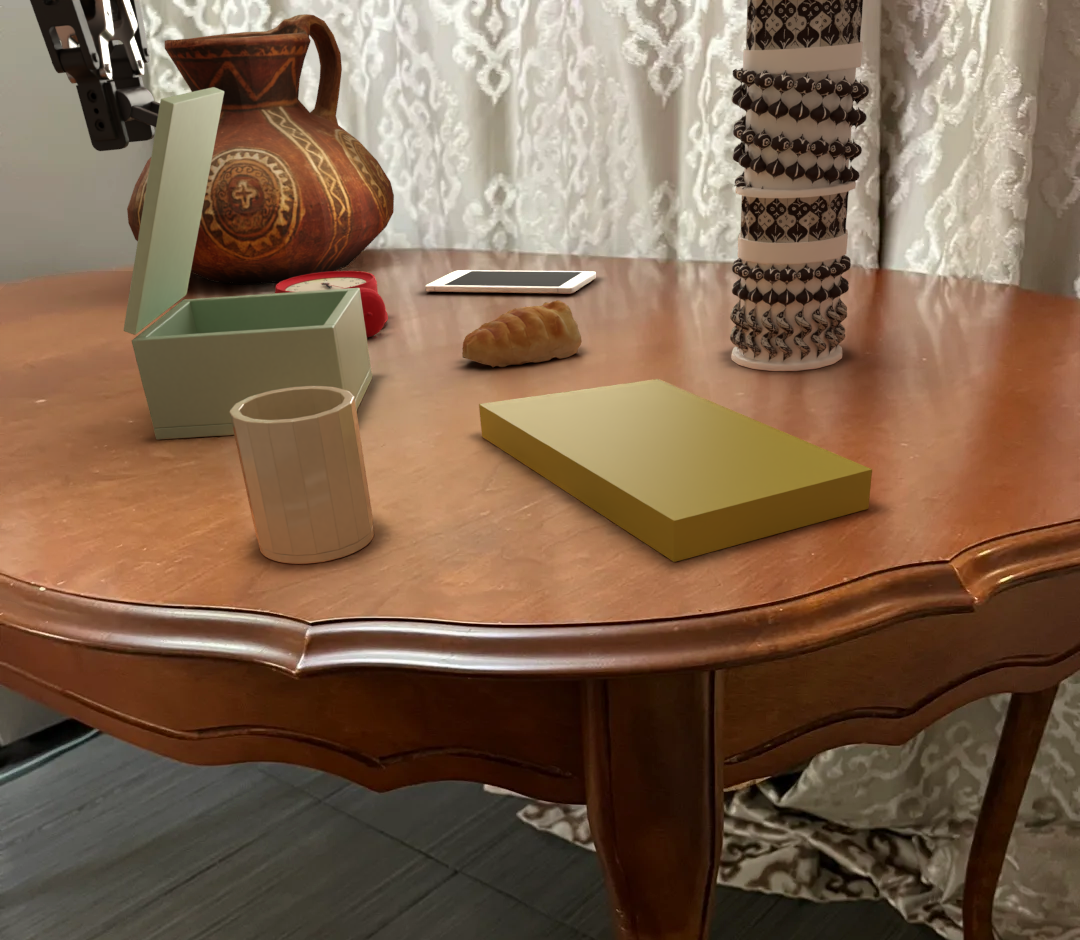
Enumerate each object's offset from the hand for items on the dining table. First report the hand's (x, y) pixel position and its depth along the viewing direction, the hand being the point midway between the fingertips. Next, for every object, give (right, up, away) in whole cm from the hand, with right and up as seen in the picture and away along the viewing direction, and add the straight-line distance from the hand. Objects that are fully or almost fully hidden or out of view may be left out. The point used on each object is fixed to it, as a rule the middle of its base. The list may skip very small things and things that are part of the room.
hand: (125, 143), depth 74 cm
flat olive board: (+34, -23, -7) cm, 42 cm away
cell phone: (+24, +6, +41) cm, 48 cm away
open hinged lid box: (+7, -15, +9) cm, 19 cm away
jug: (-4, +15, +58) cm, 60 cm away
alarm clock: (+8, -3, +29) cm, 30 cm away
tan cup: (+15, -28, -13) cm, 35 cm away
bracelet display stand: (+46, -10, +12) cm, 49 cm away
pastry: (+26, -9, +17) cm, 33 cm away
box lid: (+3, -3, +2) cm, 5 cm away
